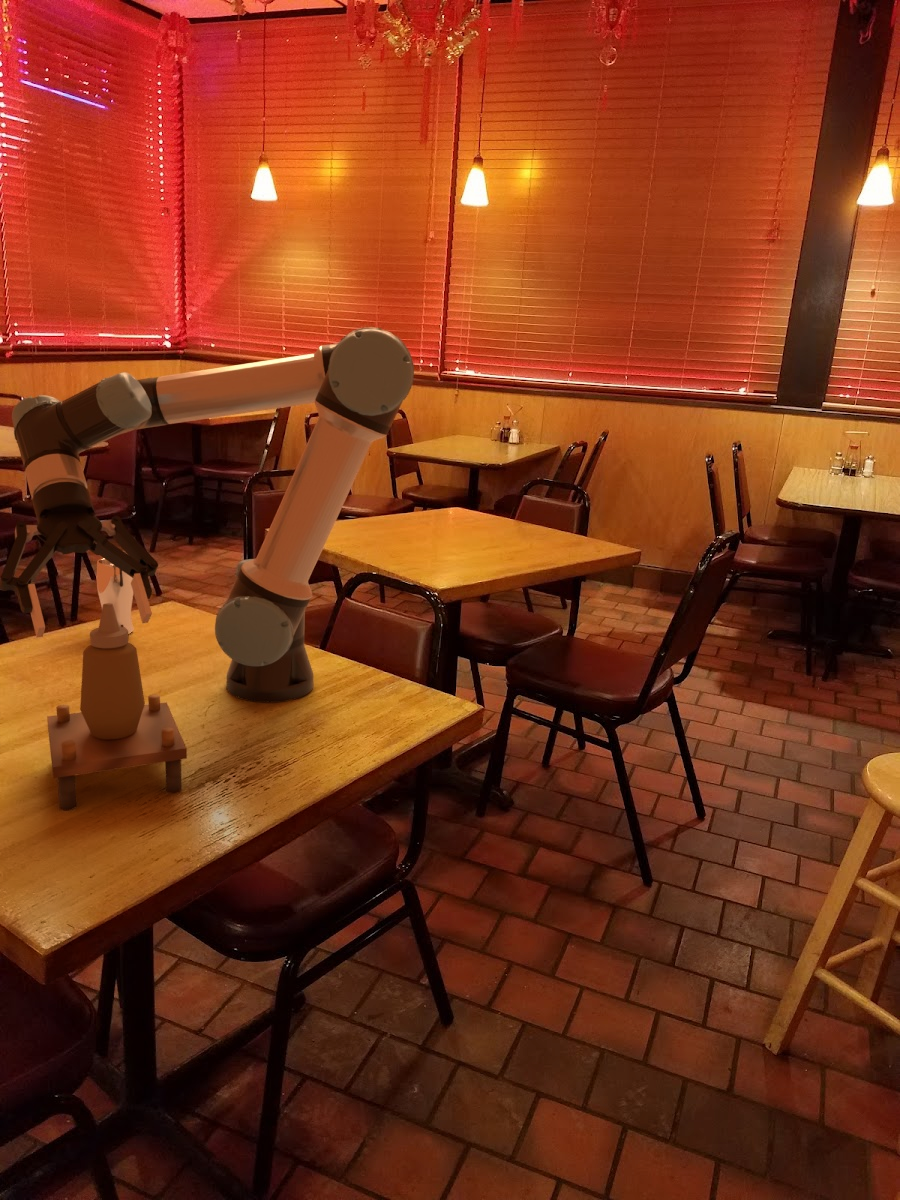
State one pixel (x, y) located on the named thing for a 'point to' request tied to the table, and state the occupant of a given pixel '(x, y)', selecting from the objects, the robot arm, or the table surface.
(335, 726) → the table surface
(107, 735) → the squeeze bottle
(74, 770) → the walnut stand
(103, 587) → the beer glass
